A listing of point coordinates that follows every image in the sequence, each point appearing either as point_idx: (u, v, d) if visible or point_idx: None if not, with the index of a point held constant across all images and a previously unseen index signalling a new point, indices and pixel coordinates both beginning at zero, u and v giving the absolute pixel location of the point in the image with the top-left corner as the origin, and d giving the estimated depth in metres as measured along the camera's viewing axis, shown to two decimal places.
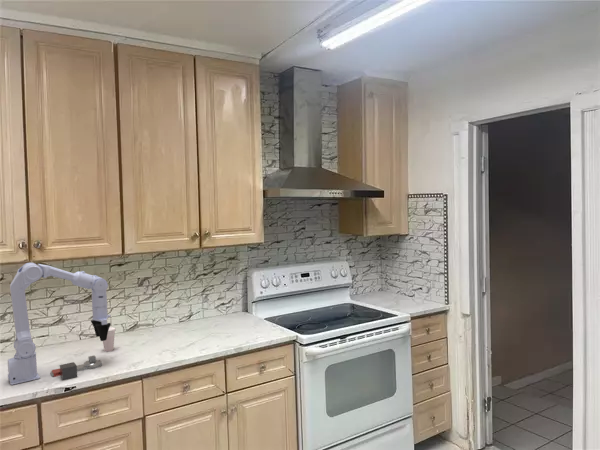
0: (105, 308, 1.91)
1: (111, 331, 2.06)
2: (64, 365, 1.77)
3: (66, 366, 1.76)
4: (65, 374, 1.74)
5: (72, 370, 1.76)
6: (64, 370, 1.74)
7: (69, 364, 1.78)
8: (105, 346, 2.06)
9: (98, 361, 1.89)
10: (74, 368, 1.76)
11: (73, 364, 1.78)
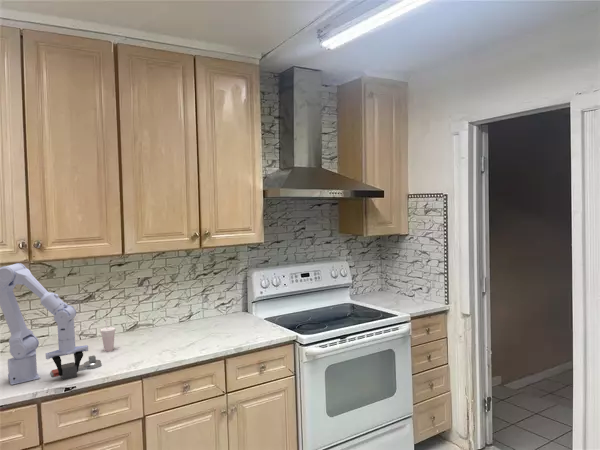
0: (61, 342, 1.74)
1: (111, 331, 2.06)
2: (64, 365, 1.77)
3: (66, 366, 1.76)
4: (65, 374, 1.74)
5: (72, 370, 1.76)
6: (64, 370, 1.74)
7: (69, 364, 1.78)
8: (105, 346, 2.06)
9: (98, 361, 1.89)
10: (74, 368, 1.76)
11: (73, 364, 1.78)
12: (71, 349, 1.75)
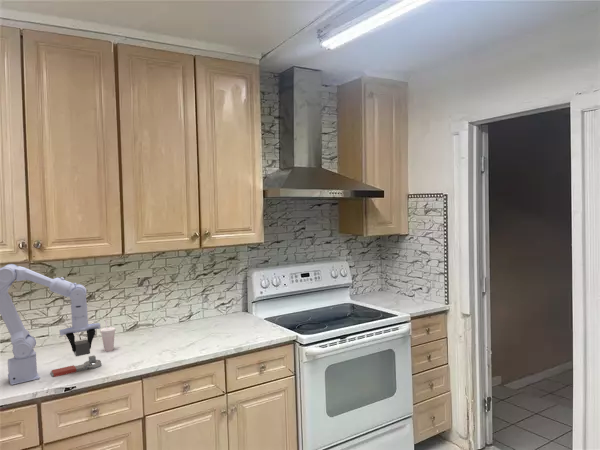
0: (74, 319, 1.80)
1: (111, 331, 2.06)
2: (77, 342, 1.83)
3: (79, 343, 1.82)
4: (78, 350, 1.80)
5: (85, 346, 1.81)
6: (78, 347, 1.80)
7: (82, 341, 1.83)
8: (105, 346, 2.06)
9: (98, 361, 1.89)
10: (87, 345, 1.82)
11: (86, 341, 1.84)
12: (84, 326, 1.81)
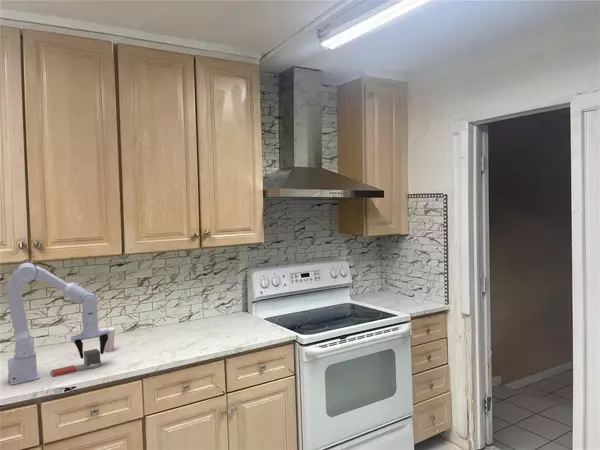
0: (85, 326, 1.85)
1: (111, 331, 2.06)
2: (88, 351, 1.88)
3: (90, 352, 1.87)
4: (89, 359, 1.85)
5: (95, 355, 1.87)
6: (89, 356, 1.85)
7: (93, 351, 1.88)
8: (105, 346, 2.06)
9: None
10: (97, 354, 1.87)
11: (96, 350, 1.89)
12: (95, 333, 1.86)
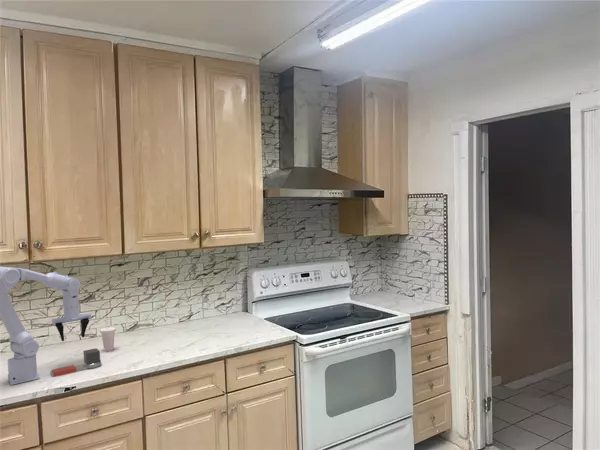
0: (66, 310, 1.88)
1: (111, 331, 2.06)
2: (88, 351, 1.88)
3: (90, 352, 1.87)
4: (89, 359, 1.85)
5: (95, 355, 1.87)
6: (88, 356, 1.85)
7: (92, 350, 1.89)
8: (105, 346, 2.06)
9: None
10: (97, 353, 1.87)
11: (96, 350, 1.89)
12: (75, 316, 1.90)
